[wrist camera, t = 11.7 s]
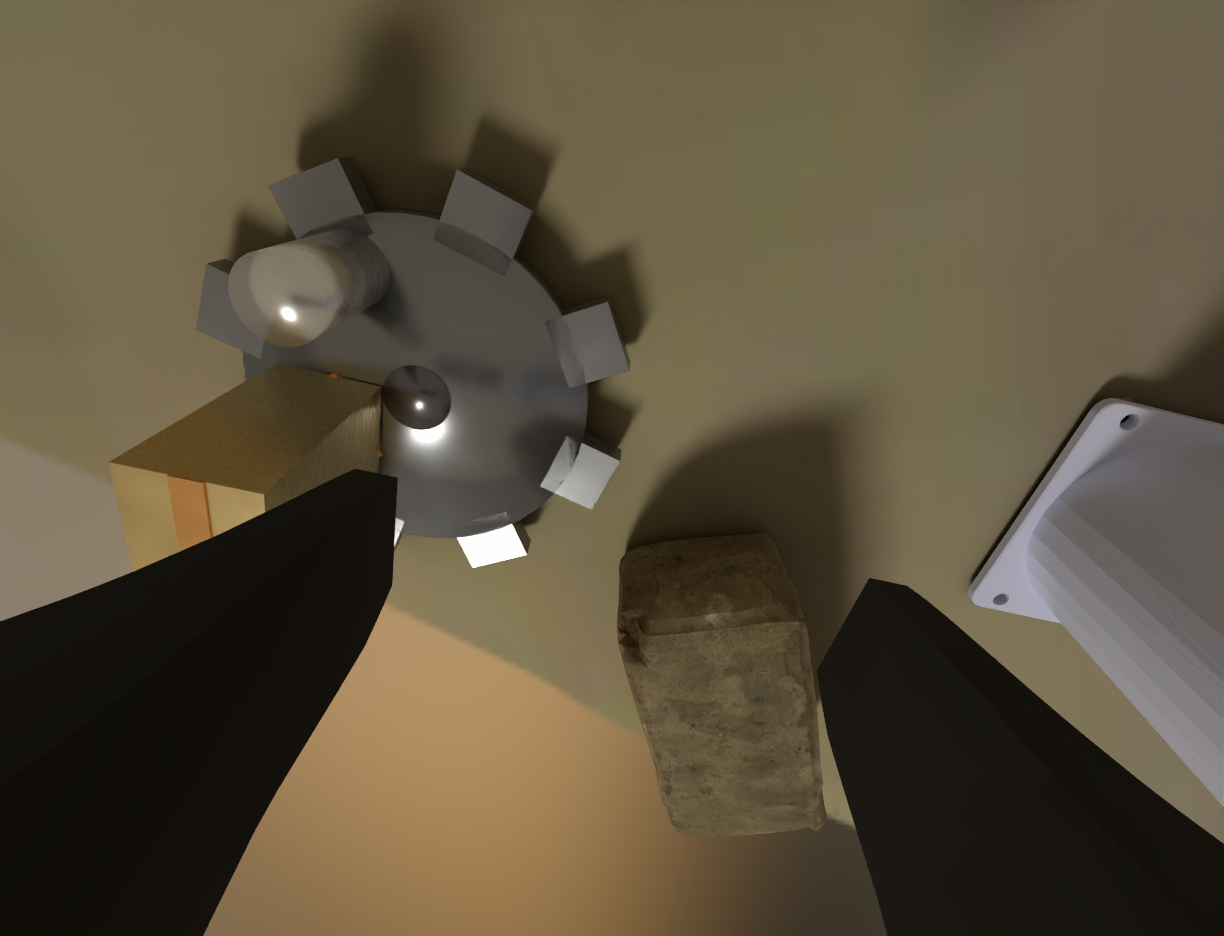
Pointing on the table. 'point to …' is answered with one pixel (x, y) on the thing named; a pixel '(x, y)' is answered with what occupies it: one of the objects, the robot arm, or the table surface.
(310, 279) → the sprocket
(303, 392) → the tan rectangular block
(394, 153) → the table surface
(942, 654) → the robot arm
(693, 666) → the stone block
